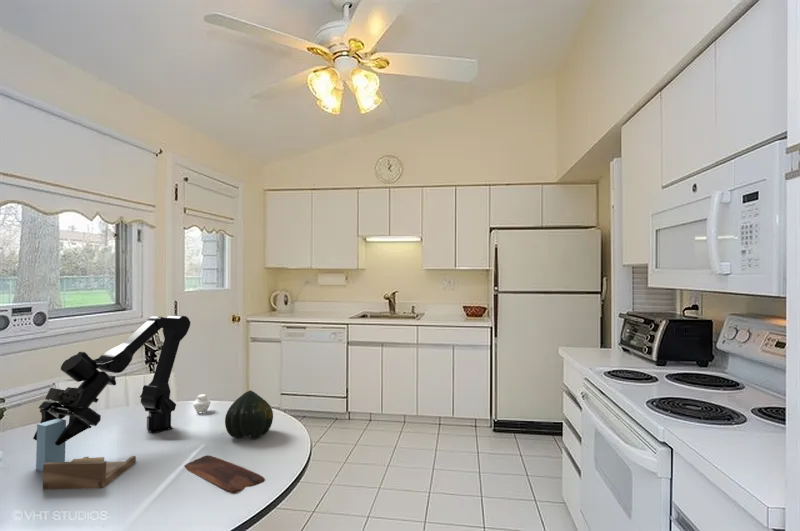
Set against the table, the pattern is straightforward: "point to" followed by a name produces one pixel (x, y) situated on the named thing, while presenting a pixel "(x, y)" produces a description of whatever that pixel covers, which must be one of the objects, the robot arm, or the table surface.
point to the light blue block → (49, 442)
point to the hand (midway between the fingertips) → (45, 442)
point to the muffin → (201, 403)
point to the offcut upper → (88, 459)
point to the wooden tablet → (224, 474)
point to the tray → (82, 473)
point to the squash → (249, 416)
